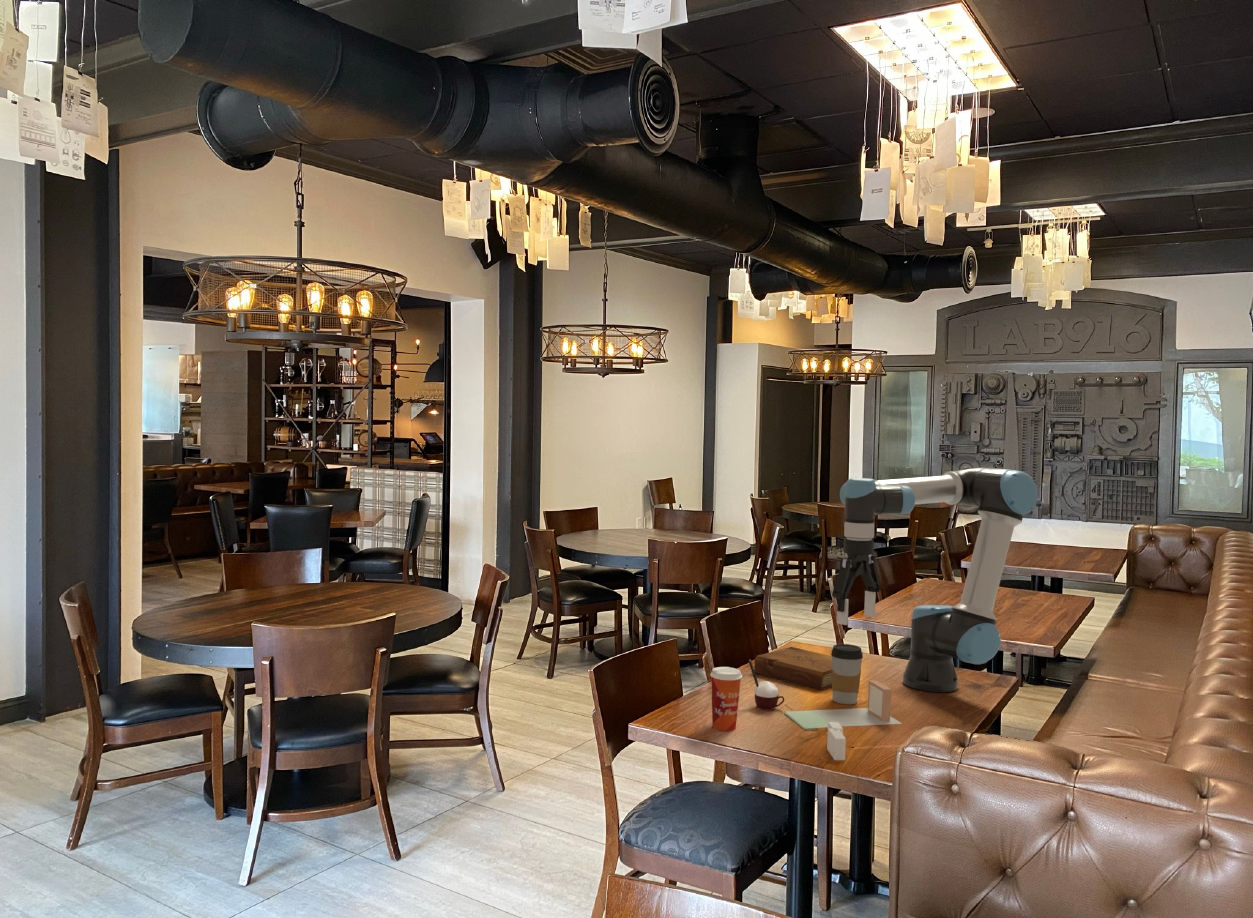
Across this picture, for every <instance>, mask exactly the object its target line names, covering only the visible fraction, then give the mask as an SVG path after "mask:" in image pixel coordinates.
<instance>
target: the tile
mask: <svg viewBox="0 0 1253 918" xmlns="http://www.w3.org/2000/svg"><path fill="white" fill-rule="evenodd" d="M891 706H892V689H891V688H890V687H889V686H886V685H885V684H883V683H881V682H880V681H879V680H875V679H874V680H868V695H867V708H868V712H870V713H871V714H873V715H874V716H876V717H877V718H879V719H880V720H882V721H890V716H891V709H892V708H891Z"/></svg>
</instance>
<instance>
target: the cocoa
mask: <svg viewBox="0 0 1253 918" xmlns="http://www.w3.org/2000/svg"><path fill="white" fill-rule="evenodd" d="M748 663H749V668H750V671H751V673H752V676H753V680H754V683H755V687H754V702H755V705H756V706H757V707H758V708H759V709H761V710H764V711H766V710H767V711H770V710H774V709H775V708H778V707H779V706H781V705H782V704H784V702H785V698H784V696H782V695H779V689H778V688H777V686H776V685H775V684H774V683H772V682H771V681H760V682H759V681H758V679H757V675H756V673H755V671H754V664H753V663H752V660H751V659H749V660H748ZM779 699H782V701H781V702H779ZM778 702H779V703H778Z"/></svg>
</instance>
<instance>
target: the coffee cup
mask: <svg viewBox="0 0 1253 918" xmlns="http://www.w3.org/2000/svg"><path fill="white" fill-rule="evenodd" d="M863 654H864V653H863V651H862V647H861V646H857V645H855V644H854V645H853V644H849V643H848V644H846V643H838V644H834V645H833V646H832V649H831V653H830V656H832V688H831V691H832V700H833V702H834V703H837V704H840V705H846V706H847V705H855V704H857V703H858V697H859V696H858V695H859V692H860V691H859V690H860V683H861V682H860V681H861V674H862V662H863V661H862V660H863V659H864V656H863Z"/></svg>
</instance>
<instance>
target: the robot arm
mask: <svg viewBox="0 0 1253 918" xmlns="http://www.w3.org/2000/svg"><path fill="white" fill-rule="evenodd" d="M1038 495H1039V493H1038V487H1037V485H1036V483H1035V480H1034V479H1033V478H1032V476H1030V475H1029V474H1028V473H1026V472H1024V471H1022V470H1021V471H1020V470H1015V469H1012V468H1010V469H1007V468H992V467H982V466H981V467H973V468H966V469H960V470H953V471H952V470H951V471H946V472H944V473H943V474H942V475H934V476H921V477H920V476H919V477H907V478H894V479H891V478H890V479H879V480H875V479H874V478H868V477H867V478H866V477H865V478H864V477H860V478H859V477H858V478H857V477H852V478H848V479H847V481H846V482H845V483H844V484H842V486H841V488H840V489H839V499H840V502H841V503H842V504H843V505H844V524H843V527H844V530H843V532H844V534H843V535H844V537H845V538H844V539H843V553H844V554H847V559H845V558H840V560H839V561H840V562H839V568H838V571H837V575H836V579H835V583H834V585H833V586H834V587H833V590H832V593H831V596H832V597H833V598H834V599H837V601H836V602H837V603H836V604H837V607H836V608H837V609H836V624H838V625H844V626H847V625H848V623H849V601H850V600H849V598H847V597H848V596H849V593H850V591H851V588H852V586H853V584H854V581H855V579H857V578H858V577H859V576H860V577H861V580H862V582H863V584H864V585H865V588H866V590H864V608H863V609H864V613H863V615H864V617H871V618H875V617H876V598H877V597H876V595H877V594H876V593H880V591H881V587H882V585H881V579H880V576H879V571H878V567H877V562H876V555H875V554H874V549H875V541H874V540H873V539H874V538H875V522H876V521H875V518H876V516H879V515H880V516H881V515H898V516H901V515H905V514H910V513H911V512H912V511H913V509H914V508H915V505H923V504H924V505H925V504H935V503H937V504H939V503H945V504H947V505H950V506H954V505H960V506H961V505H962V506H969V507H975V508H978V509H977V514H978V515H979V516H980V518H981V521H980V526H979V529H978V534H977V536H976V540H975V544H974V547H973V552H972V556H971V560H970V563H969V567H968V571H967V575H966V577H965V583H964V587H963V590H962V594H961V597H960V601H959V603H957V604H956V605H953V606H952V605H944V604H942V605H941V604H939V605H938V604H937V605H936V604H927V605H926V604H925V605H917V606H915V607H914V608H913V610H912V615H911V616H912V617H911V628H910V629H911V631H910V653H909V654H910V656H909V658H908V661H907V663H906V666H905V669H904V671H903V673H902V683H903V684H904V685H905V686H907V687H909V688H912V689H915V690H919V691H924V692H931V693H932V692H933V693H950V692H953V691H954V692H955V691H956V690H958V687H959V680H958V676H957V672H956V668H955V666H954V665H955V663H954V660H953V658H955V659H957V660H960V661H962V662H964V663H969V664H973V665H982V664H986V663H988V661H990V660H992V659H993V658H994V657H995V656H996V654H997V653H998V651H999V649H1000V645H1001V639H1002V637H1001V635H1000V630H999V629H998V627H996V622H997V617H996V616H995V614H994V606H995V602H996V599H997V596H998V595H997V594H998V591H999V588H1000V583H1001V579H1002V576H1003V572H1004V567H1005V564H1006V560H1007V555H1008V553H1009V552H1008V551H1009V548H1010V545H1011V541H1012V536H1013V532H1014V529H1015V527H1016V526H1018V525H1020V524H1022V522H1023V518H1024V516H1025V515H1028V514H1029V513H1031V512H1032V510H1034V509H1035V508H1036V505H1037V502H1038Z"/></svg>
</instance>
